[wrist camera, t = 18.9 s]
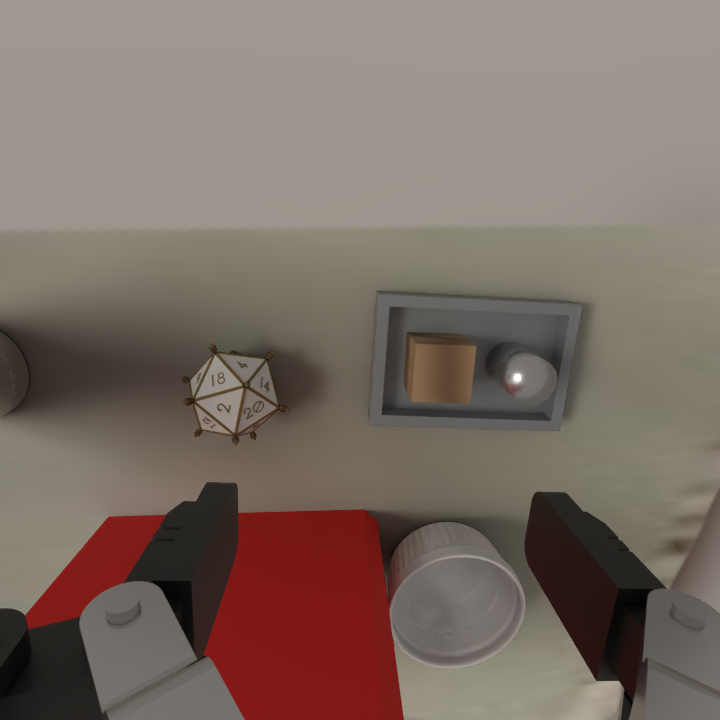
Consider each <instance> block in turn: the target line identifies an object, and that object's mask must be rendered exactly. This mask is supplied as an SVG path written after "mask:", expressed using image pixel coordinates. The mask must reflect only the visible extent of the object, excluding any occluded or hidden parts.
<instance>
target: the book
mask: <svg viewBox="0 0 720 720" xmlns="http://www.w3.org/2000/svg"><path fill="white" fill-rule="evenodd" d="M165 517H166V515H154V516H119V517H108V518H107V519H106V520H105V522H104V523H103V524H102V525H101V526H100V527H99V529H98V530H97V531H96V532H95V533H94V535H93V536H92V537H91V538H90V539H89V540H88V542H87V543H86V544H85V545H84V546H83V548H82V549H81V550H80V551H79V552H78V553H77V555H76V556H75V557H74V558H73V559H72V561H71V562H70V563H69V564H68V565H67V566H66V568H65V569H64V570H63V571H62V572H61V574H60V575H59V576H58V577H57V578H56V579H55V581H54V582H53V583H52V584H51V585H50V587H49V588H48V589H47V590H46V591H45V593H44V594H43V595H42V596H41V597H40V598H39V600H38V601H37V602H36V603H35V604H34V606H33V607H32V608H31V609H30V610H29V611H28V613H27V614H26V615H25V617H26V619H27V624H28V629H31V628H35V627H39V626H44V625H48V624H52V623H57V622H61V621H65V620H69V619H73V618H76V617H79V616H81V614H82V612H83V610H84V609H85V607H86V606H87V605H88V604H89V603H90V602H91V601H92V600H93V599H94V598H95V597H96V596H98V595H99V594H101V593H102V592H104V591H106V590H107V589H110V588H112V587H114V586H117V585H120V584H123V583H124V581H125V579H126V578H127V576H128V575H129V573H130V572H131V570H132V568H133V567H134V565H135V564H136V562H137V561H138V559H139V557H140V556H141V554H142V553H143V551H144V550H145V548H146V546H147V545H148V543H149V542H151V539H152V537H153V535H154V534H155V532H156V531H157V530H158V529H159V526H160V524H161V523H162V521H163V520H164V518H165ZM204 655H207V656H208V657H209V658H210V659H211V660H212V661H213V663H214V665H215V666H216V668H217V670H218V672H219V674H220V676H221V677H222V679H223V681H224V683H225V685H226V687H227V688H228V690H229V692H230V694H231V696H232V698H233V699H234V701H235V703H236V705H237V707H238V709H239V710H240V712H241V714H242V716H243V718H244V720H404V718H403V710H402V703H401V696H400V688H399V681H398V673H397V666H396V658H395V651H394V643H393V636H392V629H391V621H390V614H389V606H388V599H387V591H386V584H385V576H384V569H383V562H382V554H381V547H380V539H379V532H378V524H377V520H376V519H375V518H373V517H372V516H371V515H370V514H369V513H367V512H366V511H365V510H329V511H294V512H259V513H238V546H237V553H236V558H235V561H234V564H233V567H232V570H231V573H230V576H229V579H228V583H227V586H226V589H225V592H224V595H223V598H222V601H221V604H220V607H219V610H218V613H217V616H216V619H215V622H214V625H213V628H212V631H211V634H210V637H209V640H208V643H207V646H206V649H205V652H204ZM204 655H203V656H204Z"/></svg>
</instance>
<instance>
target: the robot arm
mask: <svg viewBox="0 0 720 720" xmlns="http://www.w3.org/2000/svg"><path fill="white" fill-rule="evenodd" d="M28 384H29V372H28V368H27V364H26V361H25V359H24V357H23V355H22V353H21V351H20V350H19V349H18V347H17V346H16V345H15V343H14V342H13V341H12V340H10V339H9V338H8V337H7V336H6V335H5V334H3V333H2V332H0V417H1V416H3V415H5V414H7V413H8V412H10V411H11V410H13V409H14V408H16V407H17V406H18V405H19V404H20V402H21V401H22V400H23V398H24V396H25V394H26V392H27V389H28ZM237 546H238V488H237V484H236V483H217V482H207V483H206V484H205V486H204V488H203V490H202V491H201V493H200V495H199V497H198V499H197V501H196V502H193V501H183V502H182V503H181V504H179V505H178V506H177V507H175V508H174V509H173V510H171V511H170V512H168V513H167V515H166V517H165V518H164V520H163V521H162V523H161V524H160V526H159V529H158V530H157V531H156V532H155V534H154V535H153V537H152V539H151V542H149V543H148V545H147V546H146V548H145V550H144V551H143V553H142V554H141V556H140V557H139V559H138V561H137V562H136V564H135V565H134V567H133V568H132V570H131V572H130V573H129V575H128V576H127V578H126V579H125V581H124V583H123V584H120V585H117V586H114V587H112V588H110V589H107V590H106V591H104V592H102V593H101V594H99V595H98V596H96V597H95V598H94V599H93V600H92V601H91V602H90V603H89V604H88V605H87V606H86V607H85V609H84V610H83V612H82V614H81V616H79V617H76V618H73V619H69V620H65V621H61V622H57V623H52V624H48V625H44V626H39V627H35V628H31V629H28V624H27V619H26V617H25V615H24V614H23V613H22V612H20V611H18V610H14V609H4V608H3V609H0V720H244V718H243V716H242V714H241V712H240V710H239V709H238V707H237V705H236V703H235V701H234V699H233V698H232V696H231V694H230V692H229V690H228V688H227V687H226V685H225V683H224V681H223V679H222V677H221V676H220V674H219V672H218V670H217V668H216V666H215V665H214V663H213V661H212V660H211V659H210V658H209V657H208V656H207V655H204V652H205V649H206V646H207V643H208V640H209V637H210V634H211V631H212V628H213V625H214V622H215V619H216V616H217V613H218V610H219V607H220V604H221V601H222V598H223V595H224V592H225V589H226V586H227V583H228V579H229V576H230V573H231V570H232V567H233V564H234V561H235V558H236V553H237ZM525 555H526V559H527V563H528V565H529V567H530V569H531V570H532V572H533V574H534V576H535V577H536V579H537V581H538V582H539V584H540V586H541V587H542V589H543V591H544V593H545V594H546V596H547V598H548V599H549V601H550V603H551V604H552V606H553V608H554V610H555V611H556V613H557V615H558V616H559V618H560V620H561V621H562V623H563V625H564V627H565V628H566V630H567V632H568V633H569V635H570V637H571V639H572V640H573V642H574V644H575V645H576V647H577V649H578V650H579V652H580V654H581V656H582V657H583V659H584V661H585V662H586V664H587V666H588V667H589V669H590V671H591V673H592V674H593V676H594V678H595V679H596V681H620V683H621V684H622V686H623V688H624V689H623V693H622V697H621V700H620V707H619V716H618V720H720V613H718V612H717V611H716V610H715V609H714V608H712V607H711V606H709V605H708V604H706V603H705V602H703V601H701V600H700V599H698V598H696V597H694V596H691V595H689V594H686V593H683V592H680V591H677V590H672V589H667V588H666V587H665V586H664V585H663V584H662V583H661V582H660V581H659V580H658V579H657V578H656V577H655V576H654V575H653V574H652V573H651V572H650V570H649V569H648V568H647V567H646V566H645V565H644V564H643V563H642V562H641V561H640V560H639V559H638V558H637V557H636V556H635V555H634V554H633V553H632V552H630V551H629V548H628V547H627V546H626V545H625V544H624V543H623V542H622V541H621V540H618V537H617V536H616V535H615V534H614V532H613V531H612V530H611V529H610V528H609V527H608V526H607V525H606V524H605V523H603V522H602V521H600V520H599V519H597V518H595V517H594V516H592V515H591V514H589V513H588V512H583V511H582V510H581V509H580V507H579V506H578V505H577V504H576V503H575V502H574V501H573V500H572V499H571V498H570V496H569V495H568V494H566V493H563V492H536V493H535V494H534V496H533V498H532V502H531V508H530V514H529V520H528V525H527V531H526V537H525ZM203 655H204V656H203Z"/></svg>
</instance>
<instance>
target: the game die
mask: <svg viewBox="0 0 720 720" xmlns="http://www.w3.org/2000/svg"><path fill="white" fill-rule="evenodd" d="M209 349H210V350H211V351H212V353H213V354H212V356H211V357H210V358H209V359H208V360H207V361H206V362H205V363H204V365H203V366H202V367H201V368H200V369H199V370H198V371H197V372H196V373H195V375H194V376H193V377H192V378H191V379H189V378H188V377H186V376H185V377H182V378H180V379H181V380H182V382H185V383H187V382H189V386H190V393H191V398H188V399H185V400H184V402H183V403H184V404H186V405H187V406H188V405H191V404H193V407H194V411H195V414H196V417H197V421H198V424H199V427H200V428H199V429H198V430H196V432H194V433H195V434H194V437H197V436H200V434H202V431H207V432H212V433H218V434H223V435H229V436H233V438H232V442H233V443H234V444H235V445H237V443H238V442H239V438H238V436H240V435H244V434H248V433H250V436H251V439H254V440H255V439H256V436H257V435H256V433H254V431H255V430H256V429H257V428H258V427H259V426H260V425H261V424H263V423H264V422H265V421H266V420H267V419H268V418H269V417H270V416H272V415H273V414H274V413H275V412H276V411H277V410H280V411H281V412H282V411H283V412H286V411H289V410H288V408H287V407H286V406H285V407H284V406H280V404H279V401H278V397H277V393H276V389H275V388H276V387H275V385H274V381H273V377H272V374H271V370H270V366H269V362H268V360H269V359H272V357H273V354H274V351H273V352H268V354H267V356H266V357H265V358H263V357H255V356H247V355H239V354H236V353H235V352H234V351H232V352H230V353H223V352H217V351H216V350H217V349H216V346H215V345H213V344H212V343H210V348H209Z"/></svg>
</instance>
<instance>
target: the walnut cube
mask: <svg viewBox="0 0 720 720" xmlns="http://www.w3.org/2000/svg"><path fill="white" fill-rule="evenodd" d="M476 347H477V346H476V345H475V344H473V343H472V342H471V341H469V340H468V339H467V338H465V337H464V336H463V335H461V334H449V333H421V332H407V338H406V351H405V365H404V379H403V385H404V387H405V389H406V391H407V393H408V396H409V398H410V400H411V402H429V403H465V404H470V399H471V391H472V382H473V373H474V364H475V356H476Z"/></svg>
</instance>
